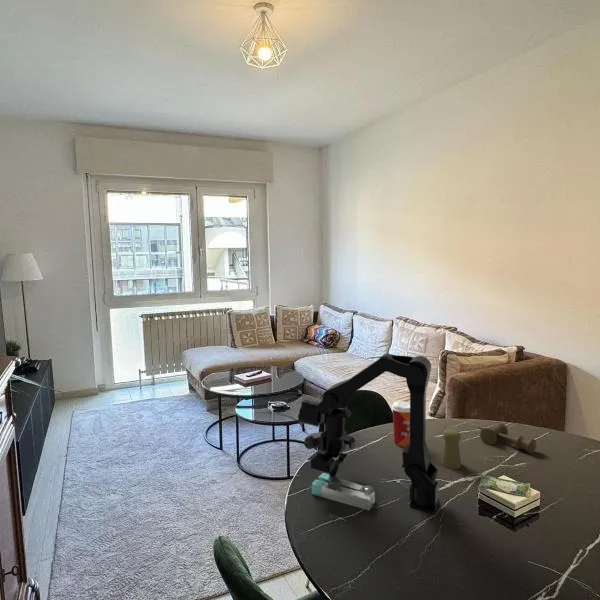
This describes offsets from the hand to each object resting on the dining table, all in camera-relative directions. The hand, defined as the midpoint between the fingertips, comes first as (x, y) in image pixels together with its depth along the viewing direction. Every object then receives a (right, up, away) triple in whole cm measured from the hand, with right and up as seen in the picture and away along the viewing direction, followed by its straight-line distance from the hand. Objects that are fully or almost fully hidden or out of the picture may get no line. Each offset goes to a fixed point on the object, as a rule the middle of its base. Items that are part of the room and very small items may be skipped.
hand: (332, 479), depth 130 cm
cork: (+38, 0, +11) cm, 40 cm away
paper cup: (+27, +2, +26) cm, 37 cm away
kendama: (+61, +2, +24) cm, 66 cm away
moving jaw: (+2, -2, -4) cm, 5 cm away
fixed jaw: (+3, -2, -7) cm, 8 cm away
